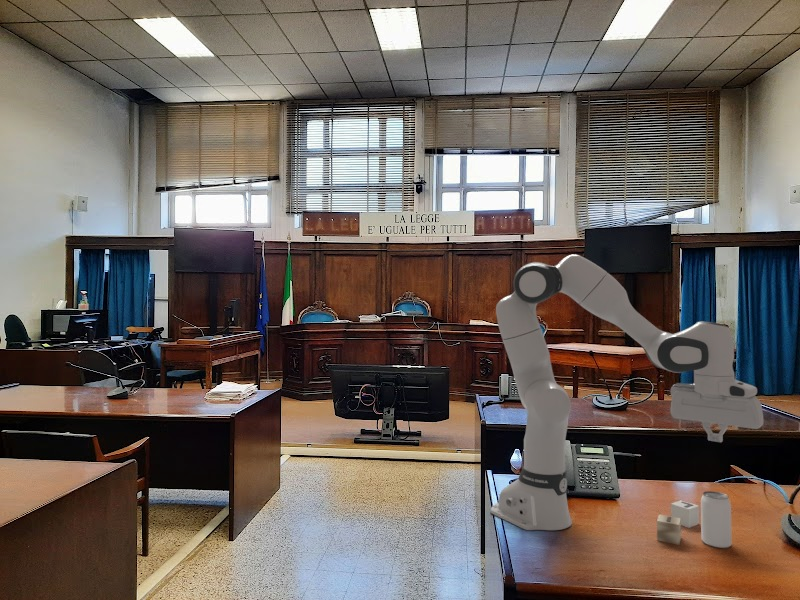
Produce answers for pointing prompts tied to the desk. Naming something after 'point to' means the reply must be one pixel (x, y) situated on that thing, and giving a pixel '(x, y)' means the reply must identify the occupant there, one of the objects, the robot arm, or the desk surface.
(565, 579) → the desk surface
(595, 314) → the robot arm
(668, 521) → the birch block
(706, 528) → the can
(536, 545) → the desk surface
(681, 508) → the white block
